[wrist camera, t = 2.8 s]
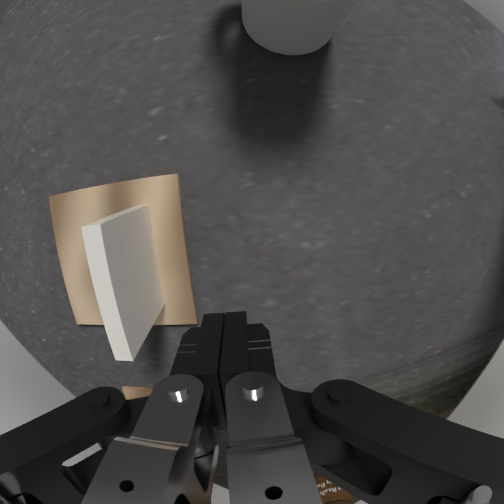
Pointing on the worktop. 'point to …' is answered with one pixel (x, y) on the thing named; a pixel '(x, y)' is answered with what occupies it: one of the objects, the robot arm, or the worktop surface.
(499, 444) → the robot arm
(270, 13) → the cup
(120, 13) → the worktop surface
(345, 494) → the utensil holder
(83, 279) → the board
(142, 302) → the tile
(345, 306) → the worktop surface
